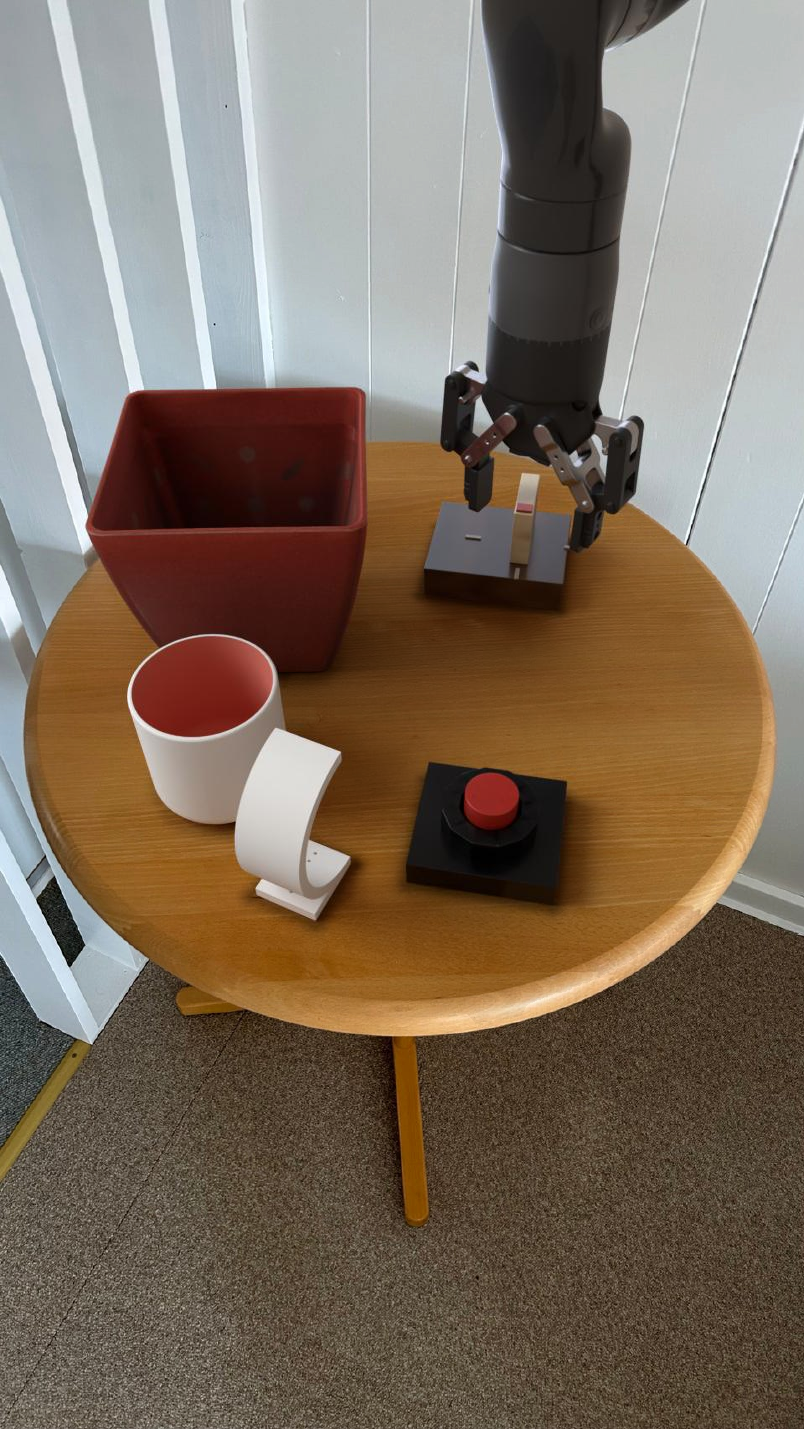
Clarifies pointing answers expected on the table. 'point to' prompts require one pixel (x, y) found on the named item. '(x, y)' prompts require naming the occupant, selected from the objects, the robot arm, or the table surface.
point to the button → (491, 801)
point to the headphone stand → (288, 824)
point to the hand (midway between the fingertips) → (528, 525)
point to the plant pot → (238, 516)
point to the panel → (496, 558)
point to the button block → (488, 838)
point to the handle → (524, 518)
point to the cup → (204, 721)
